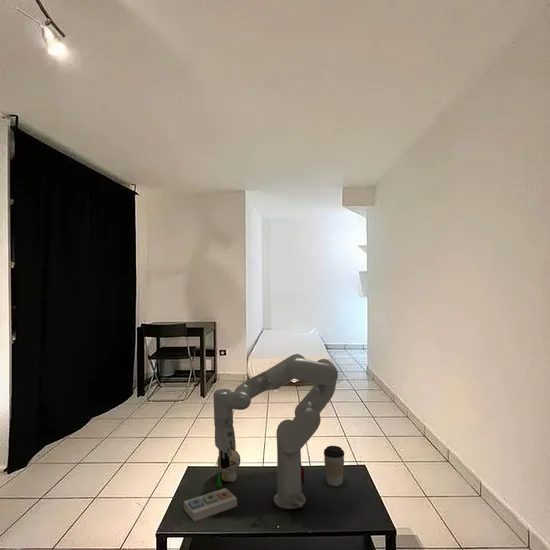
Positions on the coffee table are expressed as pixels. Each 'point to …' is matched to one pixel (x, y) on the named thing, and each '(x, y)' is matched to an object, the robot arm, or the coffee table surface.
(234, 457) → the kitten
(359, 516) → the coffee table surface
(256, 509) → the coffee table surface
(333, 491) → the coffee table surface
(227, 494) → the terracotta key
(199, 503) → the slate blue key
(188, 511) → the keypad
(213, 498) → the sage key
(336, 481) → the coffee cup
